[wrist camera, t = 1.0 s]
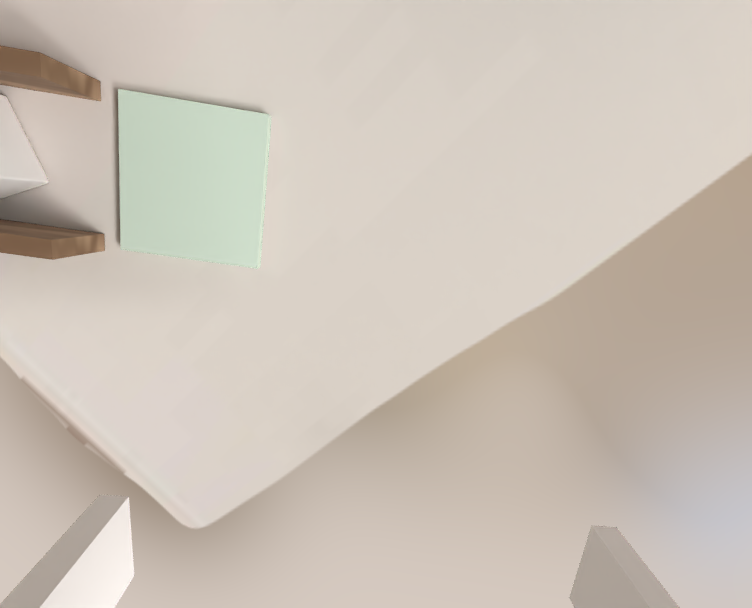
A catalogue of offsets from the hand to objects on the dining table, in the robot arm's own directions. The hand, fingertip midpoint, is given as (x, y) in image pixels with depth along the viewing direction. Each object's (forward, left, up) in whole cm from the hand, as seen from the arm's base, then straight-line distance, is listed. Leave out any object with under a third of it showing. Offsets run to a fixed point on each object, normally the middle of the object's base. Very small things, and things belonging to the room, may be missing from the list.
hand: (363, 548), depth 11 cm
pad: (-9, -16, -27) cm, 32 cm away
